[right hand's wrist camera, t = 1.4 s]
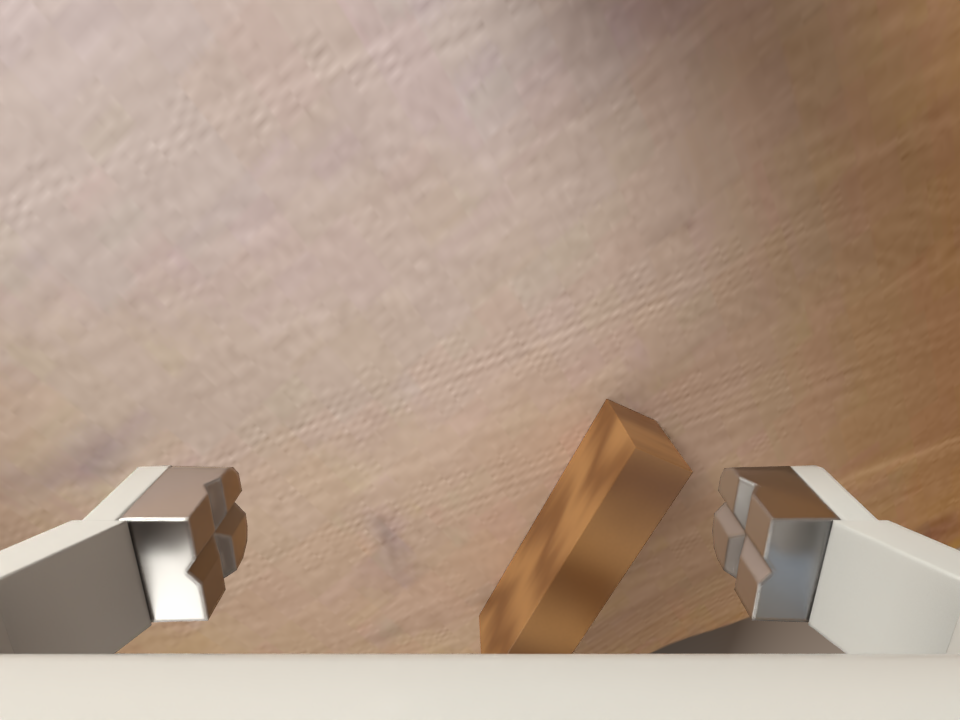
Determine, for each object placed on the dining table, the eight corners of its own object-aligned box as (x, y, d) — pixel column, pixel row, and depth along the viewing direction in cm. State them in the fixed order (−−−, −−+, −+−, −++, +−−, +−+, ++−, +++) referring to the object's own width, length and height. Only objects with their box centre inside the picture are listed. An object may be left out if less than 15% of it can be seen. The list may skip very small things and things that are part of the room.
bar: (606, 398, 46) (635, 446, 39) (655, 420, 47) (693, 471, 40) (478, 615, 53) (482, 692, 45) (524, 631, 54) (535, 709, 46)
